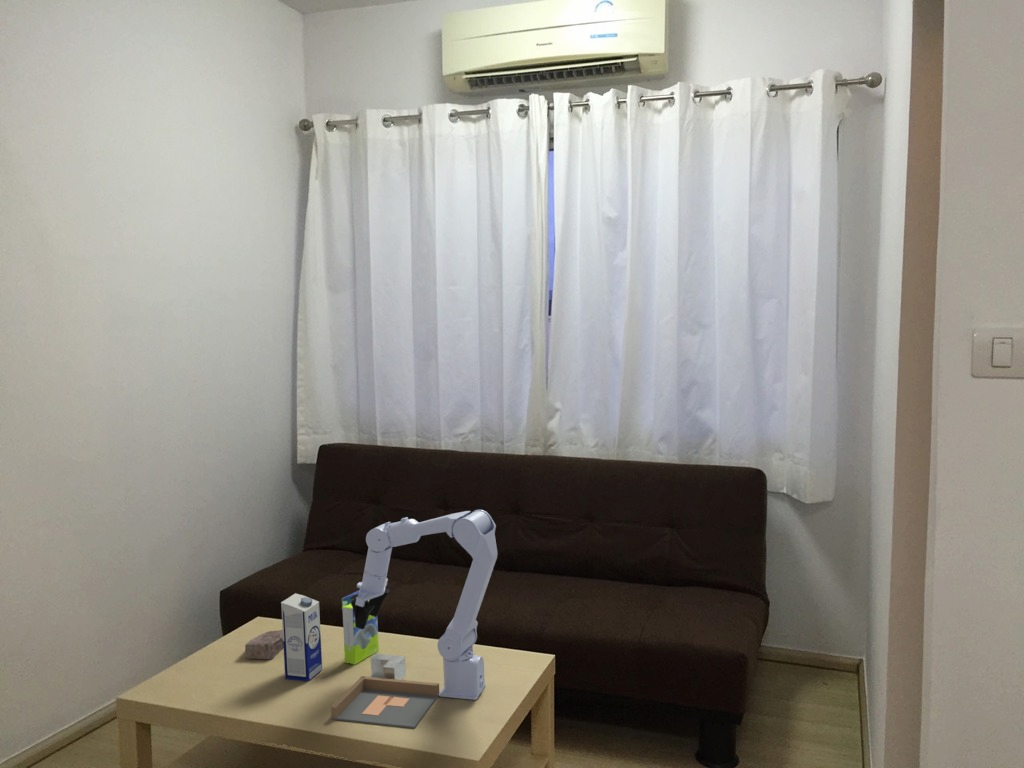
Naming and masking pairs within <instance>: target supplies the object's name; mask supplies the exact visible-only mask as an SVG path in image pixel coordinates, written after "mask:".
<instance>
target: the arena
mask: <svg viewBox="0 0 1024 768" xmlns="http://www.w3.org/2000/svg"><path fill="white" fill-rule="evenodd" d="M439 693H440V682H439V683H438V682H428V681H418V680H417V681H415V680H408V679H407V680H406V679H405V680H404V679H402V680H397V679H386V678H375V677H372V676H364V675H362V676H360V677H359V678H358V679H357V680H356V682H354V683H353V685H351V687H350V688H348V689H347V690H346V691H345V693H344V694H342V696H340V698H338V699H337V700H336V701H335V703H334V704H332V705H331V706H330V712H331V720H335V721H340V722H341V721H342V722H343V721H344V722H352V723H361V724H371V725H379V726H389V727H396V728H397V727H398V728H407V729H413V730H414V729H416V728H417V726H418V725H419V723H420V722H421V721H422V719H423V718H424V717H425V715H426V714H427V712H428V711H429V710H430V709H431V707H432V706H433V705H434V703H435V702H436V701H437V699H439V698H438V697H440V696H439Z"/></svg>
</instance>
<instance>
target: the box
mask: <svg viewBox="0 0 1024 768" xmlns="http://www.w3.org/2000/svg"><path fill="white" fill-rule="evenodd" d="M359 591H360V589H359V590H356V591H355V592H352V593H351V594H348V595H346V596H344V597H342V598H341V610H342V624H343V625H342V626H343V645H344V648H343V649H344V663H346V664H349V663H350V664H349V665H357V664H358V663H361V662H362V661H363V660H366V659H367V658H369V657H370V656H372V655H373V654H374V655H375V654H376V653H377V652H379V649H380V647H379V625H378V616H377V617H374V616H371V615H369V617H368V620H367V623H366V626H365V628H364V629H360V628H357V627H356V625H355V614H354V610H353V607H352V605H351V602H352V600H353V599H354V598H352V597H354V596H355V595H356V597H355V598H357V597H358V595H359ZM368 602H369V600H368Z"/></svg>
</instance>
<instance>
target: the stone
mask: <svg viewBox="0 0 1024 768" xmlns="http://www.w3.org/2000/svg"><path fill="white" fill-rule="evenodd" d="M244 647H245V649H244V655H245V658H246V659H251V660H252V659H253V660H257V659H258V660H273V659H274V658H275V657H276V656H277V655H278V653H280V651H282V650H283V649H284V646H283V629H281V630H280V629H279V630H270V631H266V632H264V633H261V634H259V635H258V636H255V637H254V638H252V639H250V640H248V642H246V643H245V645H244Z"/></svg>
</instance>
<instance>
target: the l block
mask: <svg viewBox="0 0 1024 768" xmlns="http://www.w3.org/2000/svg"><path fill="white" fill-rule="evenodd" d="M370 670H371V673H370V674H371V677H375V678H386V679H397V680H404V679H405V677H406V676H407V671H406V670H407V668H406V656H405V655H394V654H393V655H391V654H384V653H383V654H382V653H374V655H373V656H372V657H371V658H370Z"/></svg>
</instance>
